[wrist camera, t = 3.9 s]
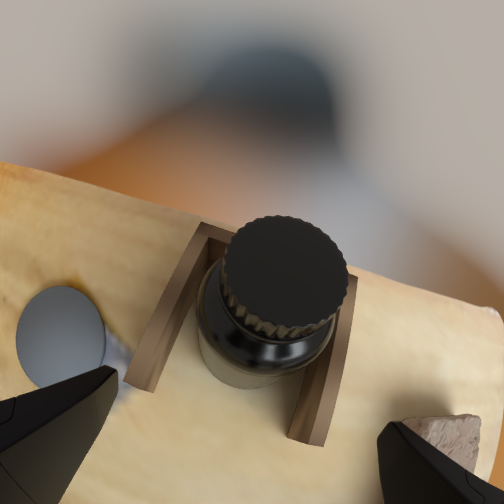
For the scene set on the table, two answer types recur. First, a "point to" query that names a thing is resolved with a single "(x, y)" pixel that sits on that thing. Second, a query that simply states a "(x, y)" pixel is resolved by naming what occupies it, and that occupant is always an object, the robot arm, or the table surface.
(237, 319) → the supplement bottle
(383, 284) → the table surface
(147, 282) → the table surface
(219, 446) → the table surface
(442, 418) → the brick
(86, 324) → the coaster
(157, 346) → the wooden u-shaped frame
